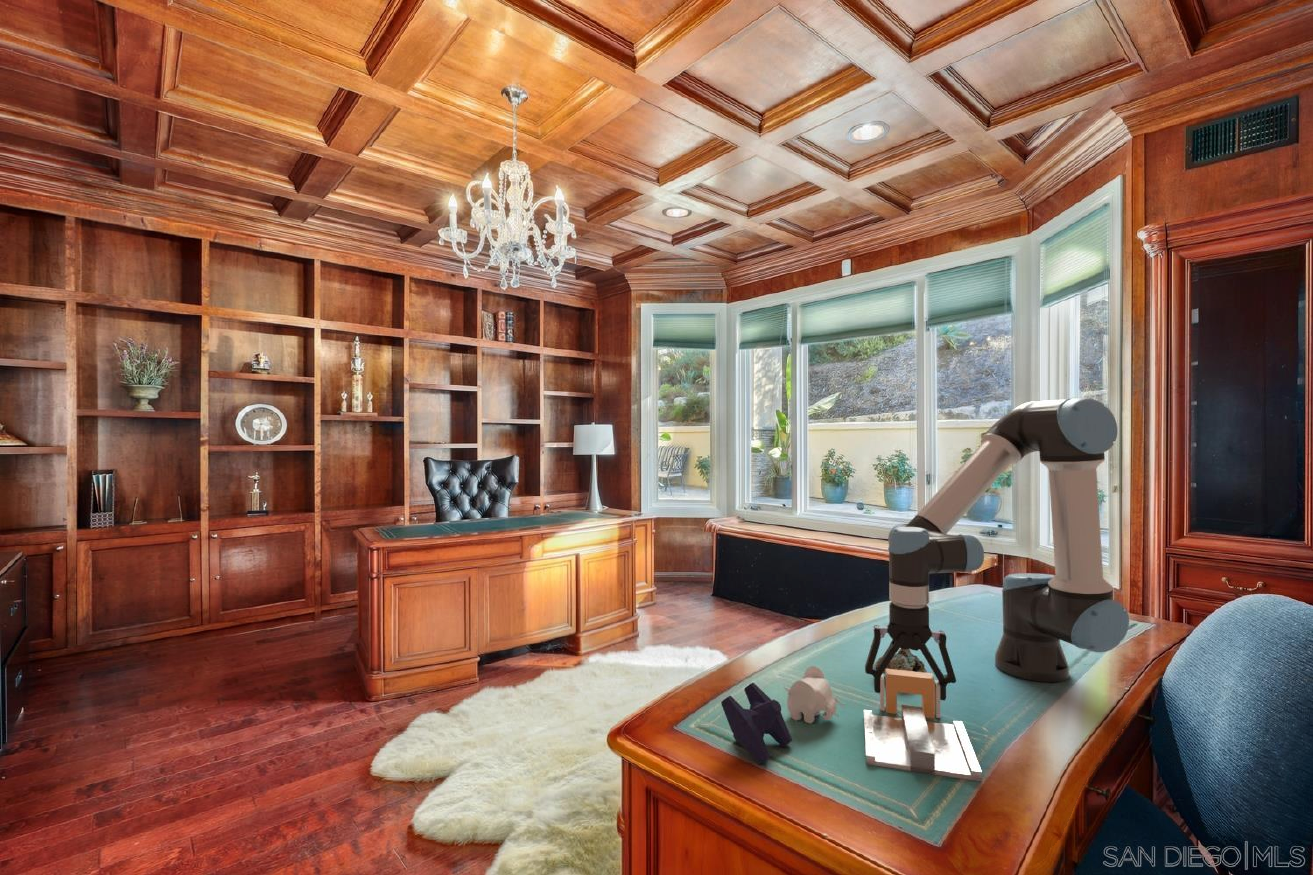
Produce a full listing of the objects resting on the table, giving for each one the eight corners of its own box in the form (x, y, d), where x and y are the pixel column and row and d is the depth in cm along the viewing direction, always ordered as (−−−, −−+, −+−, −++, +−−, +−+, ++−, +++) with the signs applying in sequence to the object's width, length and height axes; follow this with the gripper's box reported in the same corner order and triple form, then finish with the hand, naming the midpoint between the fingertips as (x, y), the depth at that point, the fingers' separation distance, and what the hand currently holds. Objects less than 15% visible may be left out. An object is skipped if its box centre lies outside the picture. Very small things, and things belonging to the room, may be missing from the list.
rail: (962, 729, 116) (962, 711, 116) (981, 781, 99) (981, 760, 99) (863, 717, 122) (863, 700, 122) (866, 764, 105) (866, 744, 105)
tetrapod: (806, 743, 110) (792, 679, 112) (772, 770, 101) (757, 701, 103) (756, 739, 118) (743, 679, 119) (720, 764, 109) (706, 699, 111)
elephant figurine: (835, 735, 115) (835, 689, 115) (775, 719, 121) (775, 675, 121) (848, 715, 123) (848, 671, 123) (791, 701, 129) (791, 660, 129)
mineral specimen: (899, 687, 134) (909, 652, 135) (865, 670, 142) (875, 637, 143) (928, 693, 141) (938, 660, 141) (894, 677, 148) (904, 645, 149)
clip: (932, 711, 124) (932, 673, 124) (934, 718, 121) (934, 678, 121) (885, 706, 127) (885, 668, 127) (886, 712, 124) (886, 673, 124)
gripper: (966, 602, 124) (966, 710, 124) (851, 594, 131) (852, 696, 131) (973, 612, 117) (973, 727, 117) (851, 603, 123) (852, 712, 124)
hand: (909, 711), depth 124 cm, fingers open, 10 cm apart
